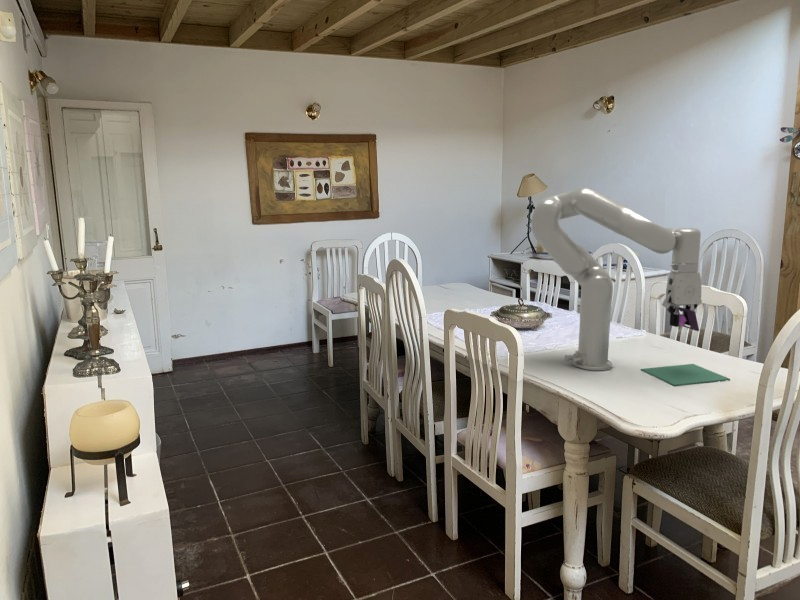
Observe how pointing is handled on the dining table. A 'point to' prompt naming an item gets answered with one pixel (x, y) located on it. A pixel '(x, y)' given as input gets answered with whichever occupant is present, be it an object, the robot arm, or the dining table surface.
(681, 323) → the black open frame
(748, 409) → the dining table surface
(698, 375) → the mat
